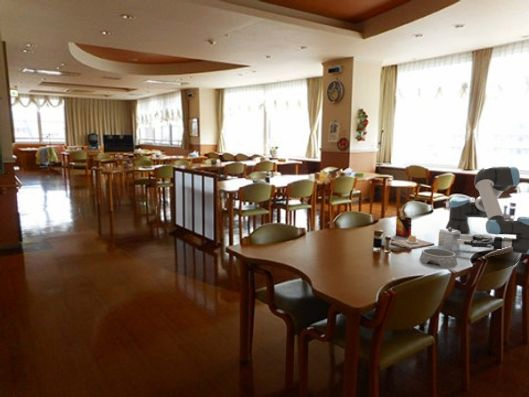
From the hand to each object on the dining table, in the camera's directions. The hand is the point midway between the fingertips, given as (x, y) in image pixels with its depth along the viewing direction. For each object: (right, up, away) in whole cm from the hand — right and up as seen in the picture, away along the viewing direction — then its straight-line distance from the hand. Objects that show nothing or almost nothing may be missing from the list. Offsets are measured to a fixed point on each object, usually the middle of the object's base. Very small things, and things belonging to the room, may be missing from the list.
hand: (458, 238), depth 219 cm
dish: (-21, -4, +15) cm, 26 cm away
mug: (-17, -2, +37) cm, 41 cm away
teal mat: (-4, -7, +4) cm, 9 cm away
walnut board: (-21, -5, +15) cm, 26 cm away
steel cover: (-4, -6, +4) cm, 8 cm away
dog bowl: (-20, -11, -17) cm, 28 cm away
